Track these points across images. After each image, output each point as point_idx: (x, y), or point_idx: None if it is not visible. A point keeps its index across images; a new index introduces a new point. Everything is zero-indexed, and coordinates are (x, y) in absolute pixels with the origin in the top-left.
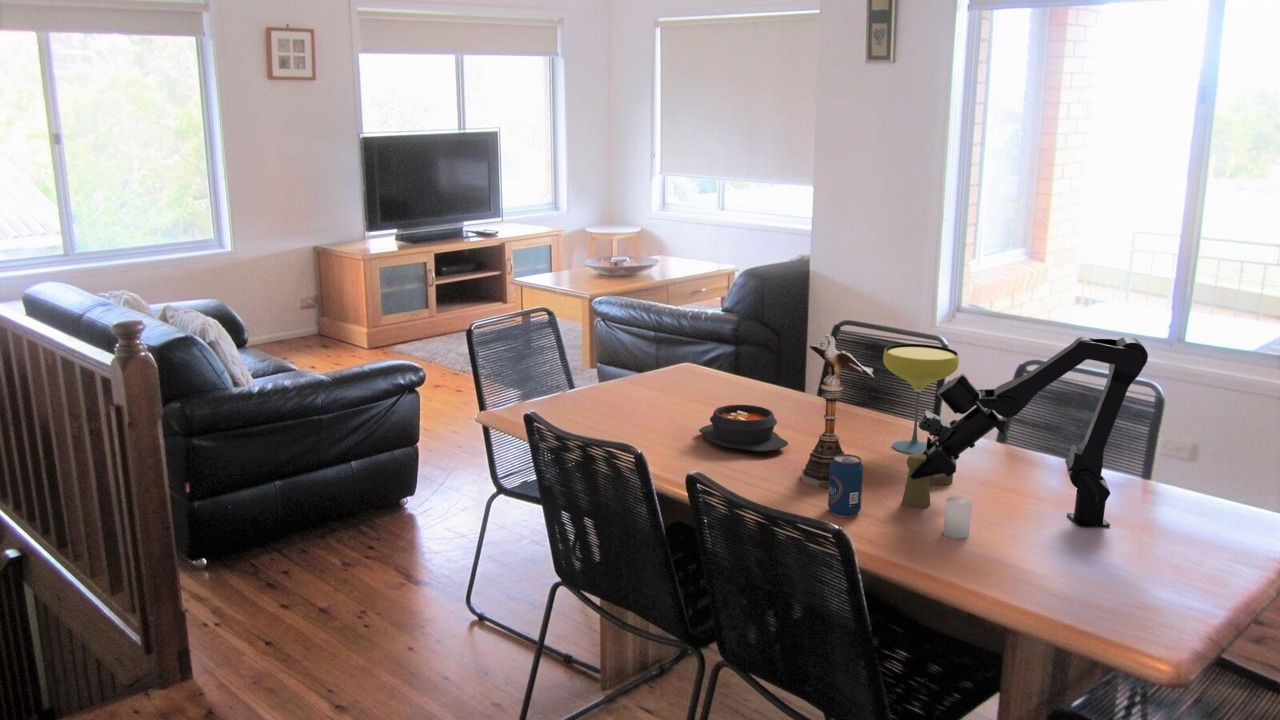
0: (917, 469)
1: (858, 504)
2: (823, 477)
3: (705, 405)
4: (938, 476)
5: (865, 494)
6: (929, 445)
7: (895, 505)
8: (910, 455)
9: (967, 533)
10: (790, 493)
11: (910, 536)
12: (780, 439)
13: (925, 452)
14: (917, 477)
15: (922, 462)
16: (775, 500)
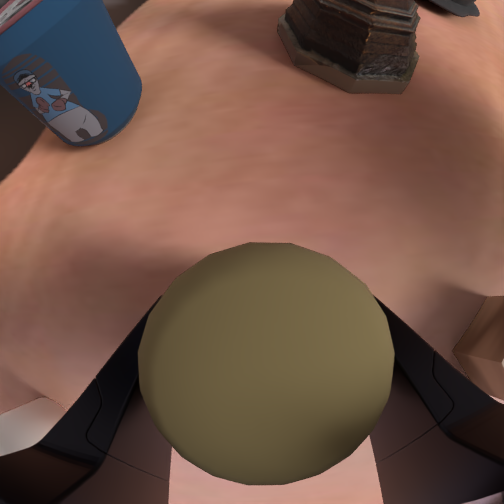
0: (117, 353)
1: (57, 134)
2: (289, 17)
3: (492, 2)
4: (476, 364)
5: (281, 131)
6: (473, 474)
7: (203, 245)
8: (263, 271)
9: None
10: (212, 5)
11: (3, 308)
12: (459, 9)
13: (425, 417)
14: None
15: (99, 412)
16: (161, 3)
